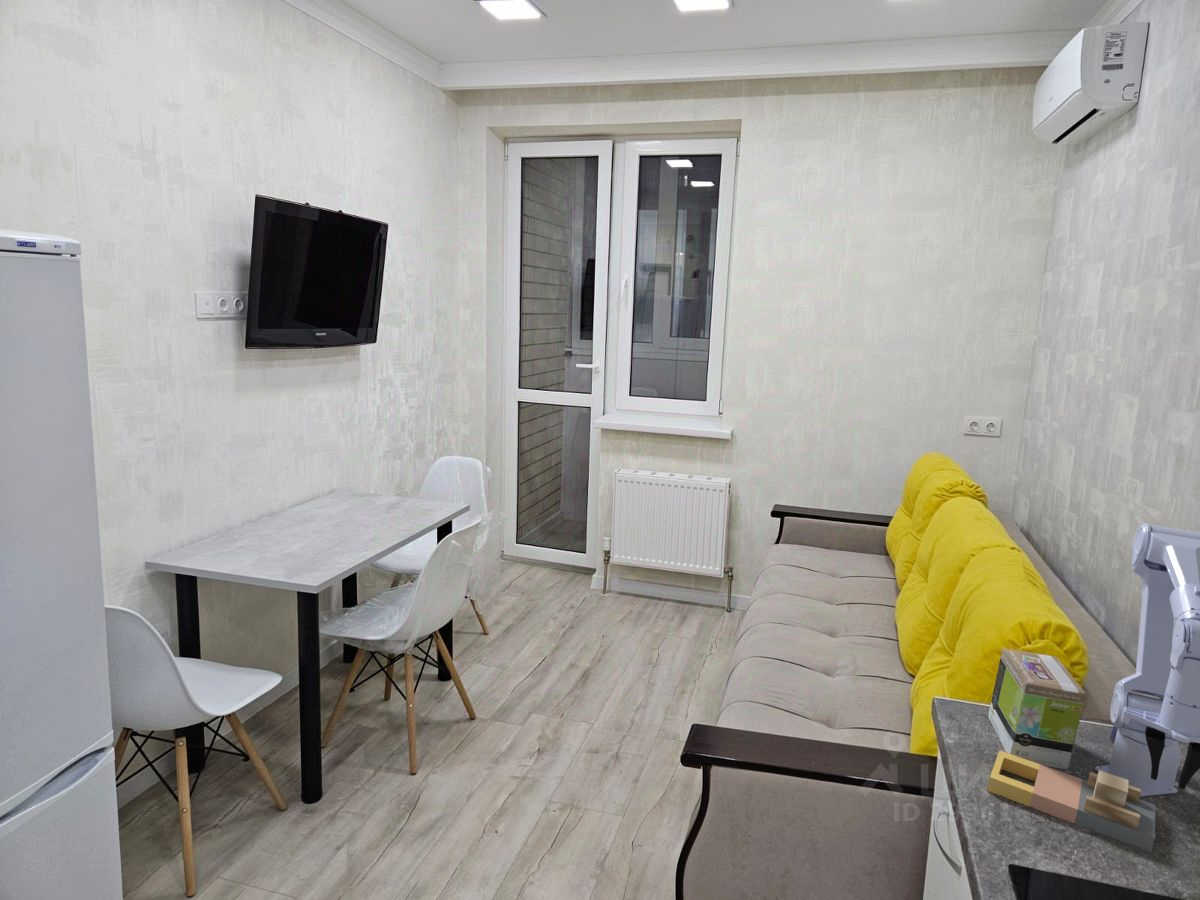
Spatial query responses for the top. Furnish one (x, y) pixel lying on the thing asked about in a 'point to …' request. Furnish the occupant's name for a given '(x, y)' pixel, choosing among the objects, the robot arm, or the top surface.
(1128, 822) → the channel walls
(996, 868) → the top surface
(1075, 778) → the board
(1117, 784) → the birch block
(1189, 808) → the top surface
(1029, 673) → the tea box
